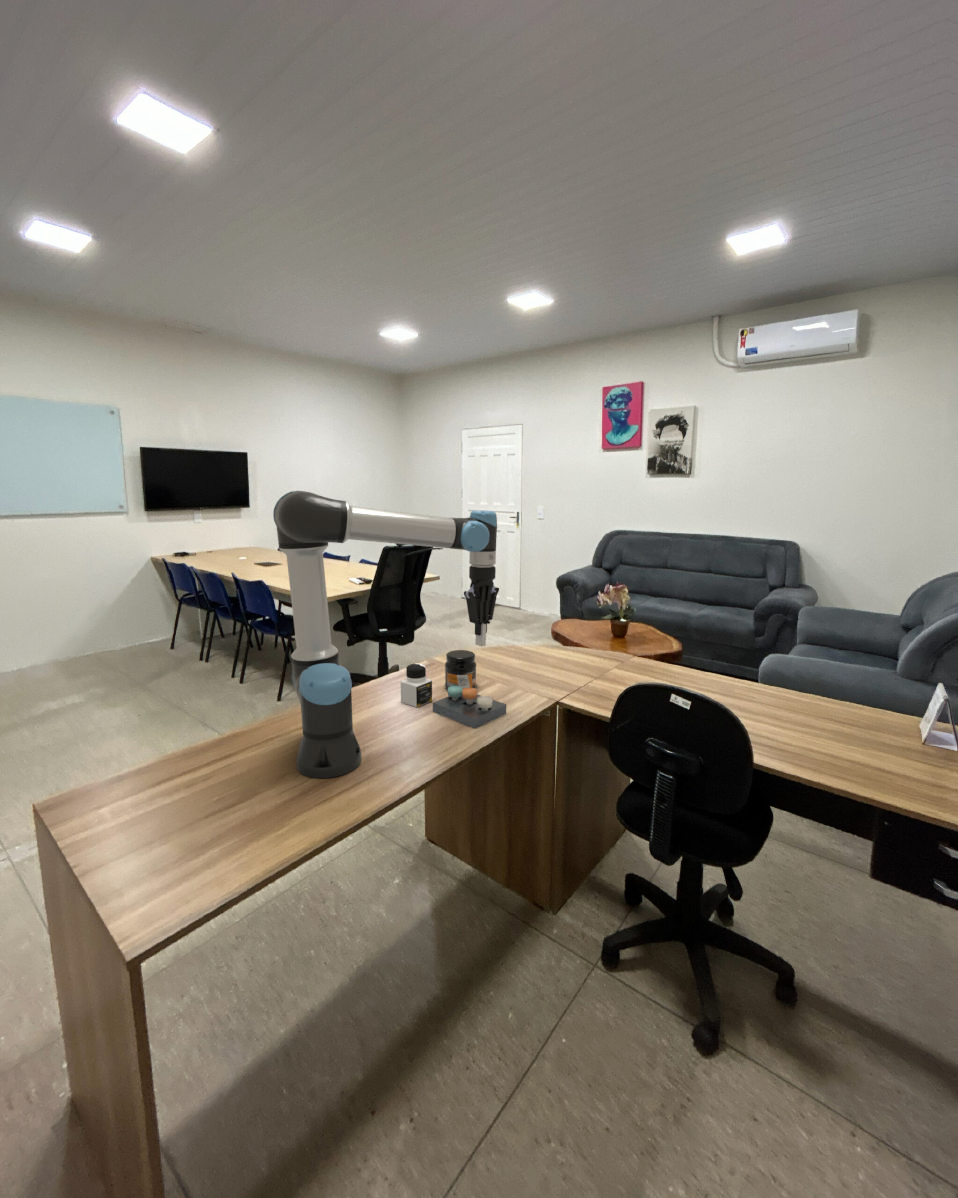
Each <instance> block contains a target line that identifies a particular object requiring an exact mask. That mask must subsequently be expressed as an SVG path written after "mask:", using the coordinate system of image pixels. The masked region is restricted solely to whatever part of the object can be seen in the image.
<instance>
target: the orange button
mask: <svg viewBox="0 0 958 1198" xmlns="http://www.w3.org/2000/svg"><path fill="white" fill-rule="evenodd" d="M477 694H478V689H477V688H476V687H475V688H471V687H468V688H464V689H462V697H463V698H464V699H466V705H467V706H472V705H473V699H475V698H477Z"/></svg>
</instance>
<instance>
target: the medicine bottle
mask: <svg viewBox="0 0 958 1198" xmlns="http://www.w3.org/2000/svg"><path fill="white" fill-rule="evenodd" d="M405 673H406V678H405V679H402V680H400V703H402V704H406V705H407V706H412V707H414V708H419V707H422V706H423V705H426V704H428V703H430V702H432V701H433V680H432V679H431V678H430V679H429V678H427V666H426V665H425V664H422V663H417V662H416V663H411V664H408V665H407V666H406V670H405Z"/></svg>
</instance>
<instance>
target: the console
mask: <svg viewBox="0 0 958 1198" xmlns="http://www.w3.org/2000/svg"><path fill="white" fill-rule="evenodd" d="M480 696H482V695H481V694H478V693H477V698H478V697H480ZM477 698H475V699H473V705H472V706H467V705H466V699H464V698H463V697H462V696H460V697H458V700H457V701H454V700H452V697H450V696H448V695H447V696H446V697H444V698H441V699H439V700H435V701H433V702H432V713H435V714H436V715H438V716H441V717H444V718H447V719H450V720H452V721H454V722H457V723H459V724H462V725H465V726H467V727H470V728H472V729H478V728H480V727H482V726H484V725H486V724H488V723H490V722H492V721H495V720H496V719H498V718H501V717H503V716H506V715H507V703H504V702H501V701H498V700H495V699H493V698H492V707H490V708H488V711H487V712H484V711H481V708H480V707H478V706H477Z"/></svg>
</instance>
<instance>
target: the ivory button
mask: <svg viewBox="0 0 958 1198" xmlns="http://www.w3.org/2000/svg"><path fill="white" fill-rule="evenodd" d="M492 699H493V697H491V696H488V695H481V696H480V697H478V698H477V706H478V707H480V708H481V711H484V712H487V711H488V708H490V707H492Z"/></svg>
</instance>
